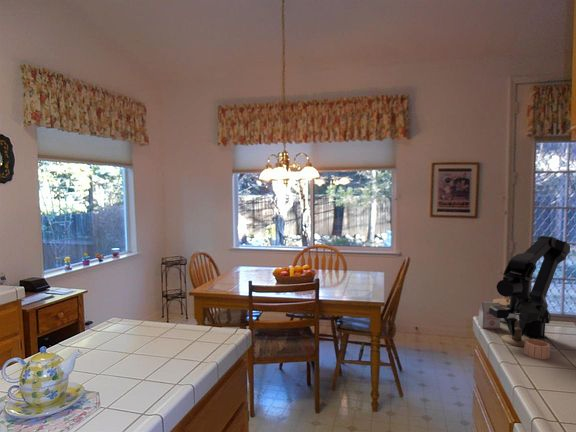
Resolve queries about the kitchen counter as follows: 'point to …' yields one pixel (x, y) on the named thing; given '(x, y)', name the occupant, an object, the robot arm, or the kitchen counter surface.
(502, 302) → the lidded jar
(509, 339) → the lid
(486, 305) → the white red-printed box
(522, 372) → the kitchen counter surface
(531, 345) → the bucket
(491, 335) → the kitchen counter surface
